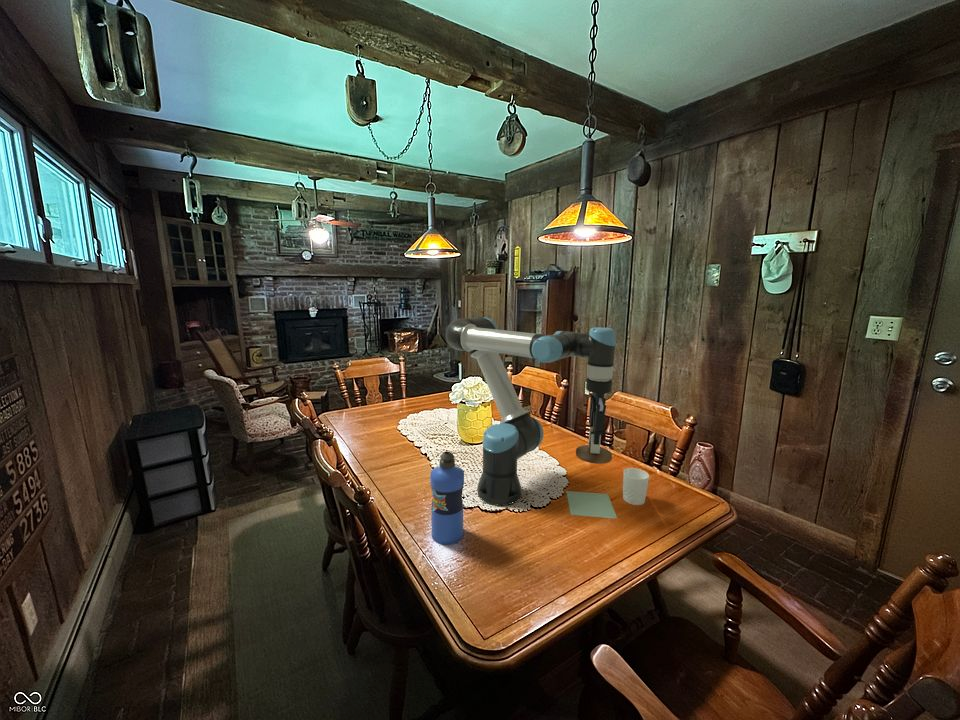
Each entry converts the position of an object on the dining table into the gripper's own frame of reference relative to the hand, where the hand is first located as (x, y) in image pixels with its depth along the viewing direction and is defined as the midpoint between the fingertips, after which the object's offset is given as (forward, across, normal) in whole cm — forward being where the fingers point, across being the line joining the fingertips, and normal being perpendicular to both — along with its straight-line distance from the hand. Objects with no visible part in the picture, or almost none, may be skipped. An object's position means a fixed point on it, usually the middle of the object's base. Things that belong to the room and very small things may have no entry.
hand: (593, 450), depth 118 cm
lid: (+2, 0, 0) cm, 2 cm away
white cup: (+20, +5, -15) cm, 25 cm away
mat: (+19, 0, 0) cm, 19 cm away
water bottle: (+20, -21, +43) cm, 52 cm away
